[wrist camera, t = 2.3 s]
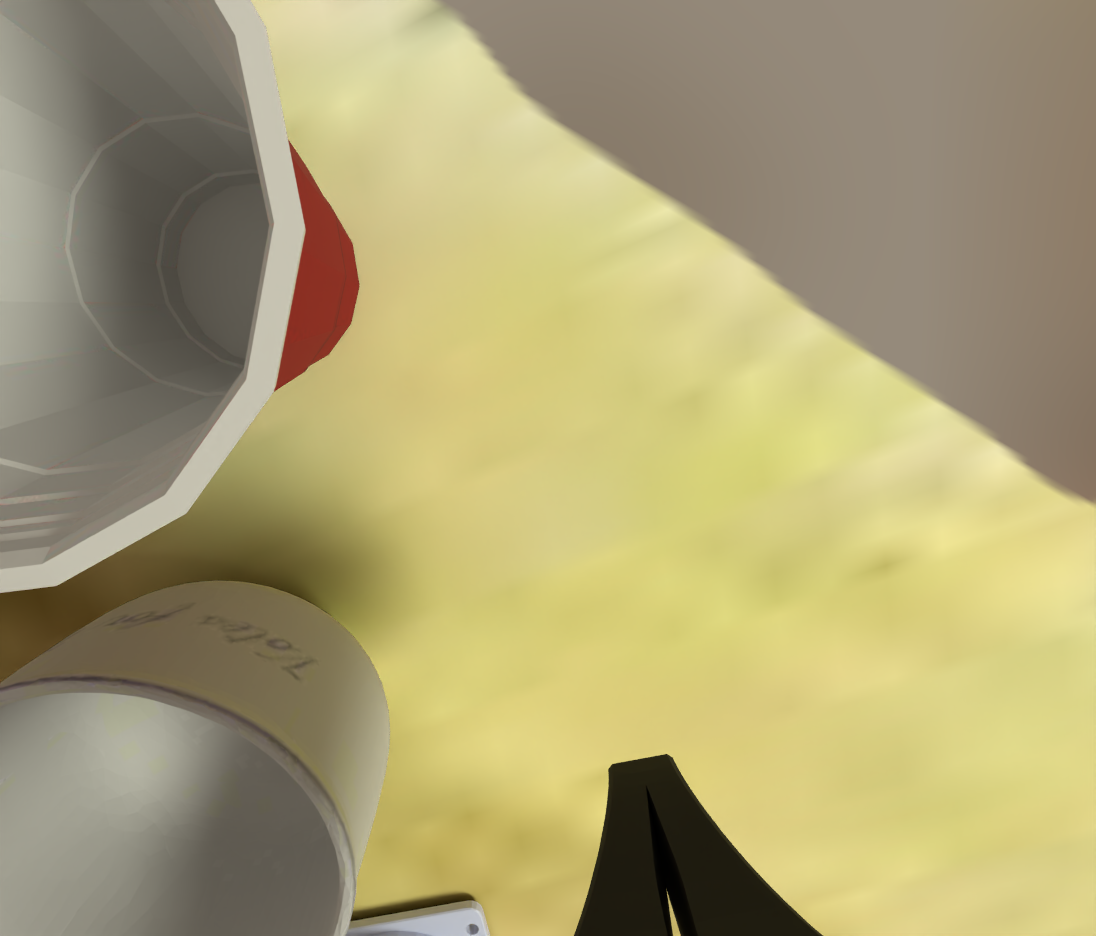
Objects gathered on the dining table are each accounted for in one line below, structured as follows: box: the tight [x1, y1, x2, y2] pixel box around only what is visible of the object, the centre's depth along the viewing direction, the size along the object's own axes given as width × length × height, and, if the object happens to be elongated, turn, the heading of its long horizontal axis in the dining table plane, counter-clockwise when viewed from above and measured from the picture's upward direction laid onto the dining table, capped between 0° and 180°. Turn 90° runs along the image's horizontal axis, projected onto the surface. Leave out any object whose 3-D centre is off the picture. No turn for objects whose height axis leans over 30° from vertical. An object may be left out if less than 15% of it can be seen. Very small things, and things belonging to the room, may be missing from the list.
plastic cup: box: [0, 0, 359, 593], centre depth 12 cm, size 11×11×12 cm
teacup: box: [0, 581, 390, 936], centre depth 17 cm, size 14×11×8 cm
